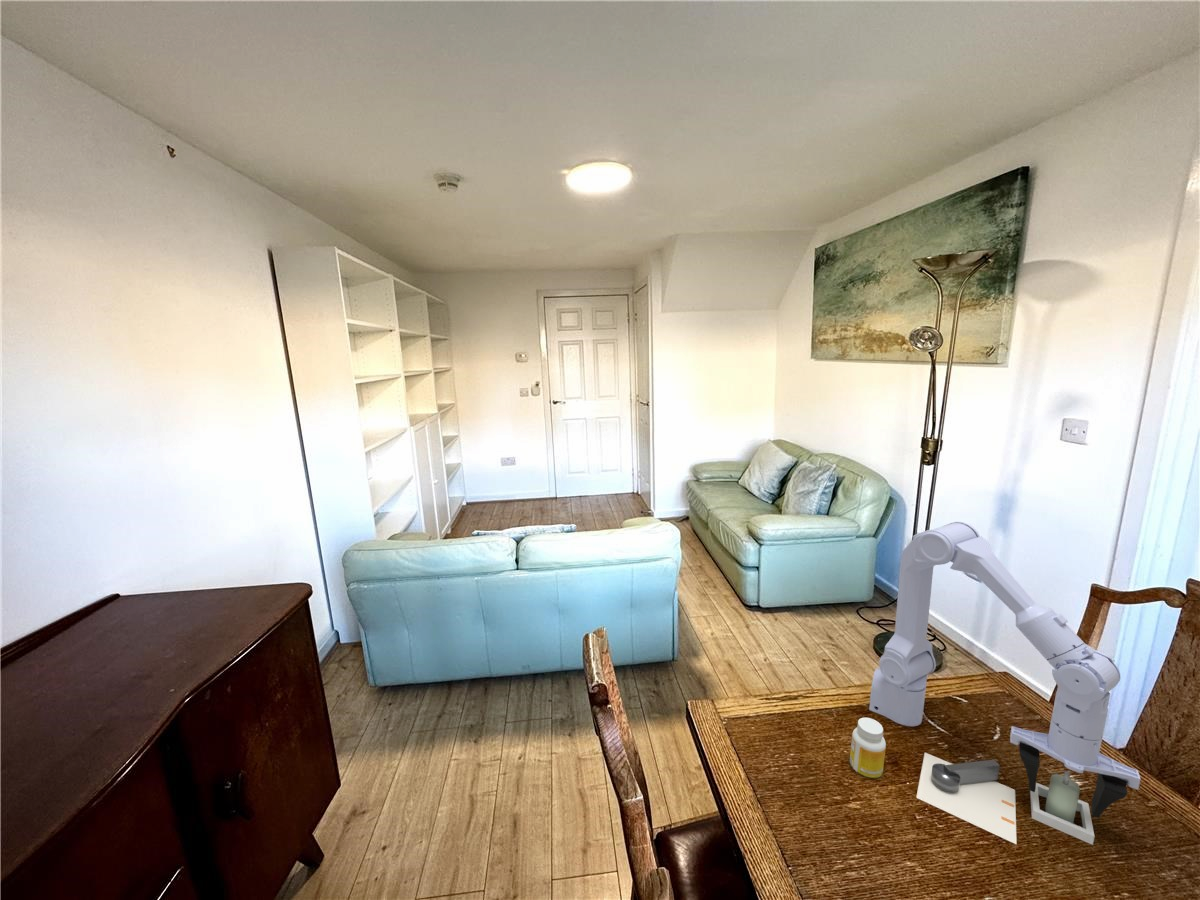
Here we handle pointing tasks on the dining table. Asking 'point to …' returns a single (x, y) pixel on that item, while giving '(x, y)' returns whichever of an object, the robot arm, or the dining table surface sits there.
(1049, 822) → the tool holder
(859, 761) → the supplement bottle
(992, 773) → the dial lever
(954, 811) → the dial panel
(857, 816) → the dining table surface
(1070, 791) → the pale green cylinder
